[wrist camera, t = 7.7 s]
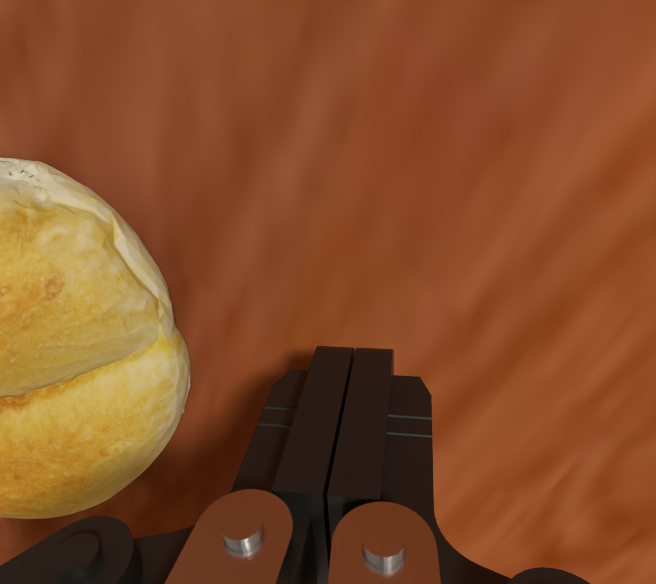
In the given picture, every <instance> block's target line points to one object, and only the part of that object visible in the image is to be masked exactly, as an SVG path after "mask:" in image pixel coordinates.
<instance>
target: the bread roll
mask: <svg viewBox="0 0 656 584" xmlns="http://www.w3.org/2000/svg"><path fill="white" fill-rule="evenodd" d="M190 378H191V376H190V359H189V354H188V349H187V346H186V343H185V341H184V339H183V337H182V335H181V333H180V332H179V331H178V330H177V328H176V326H175V323H174V317H173V311H172V302H171V300H170V296H169V291H168V287H167V284H166V282H165V280H164V278H163V276H162V274H161V272H160V270H159V268H158V266H157V265H156V263H155V262H154V260H153V259H152V257H151V256H150V254H149V253H148V251H147V250H146V248H145V246H144V245H143V243H142V242H141V240H140V238H139V237H138V235H137V234H136V233H135V232H134V230H133V229H132V228H131V227H130V226H129V225H128V224H127V223H126V222H125V220H124V219H123V218H122V217H121V216H120V215H119V214H118V213H117V211H116V210H114V209H113V208H112V207H111V206H110V205H109V204H108V203H106V202H105V201H104V200H103V199H102V198H101V197H99V196H98V195H97V194H96V193H95V192H93V191H92V190H91V189H90V188H88V187H86V186H84V185H82V184H80V183H78V182H77V181H75V180H73V179H72V178H70V177H68V176H67V175H65V174H64V173H62V172H60V171H58V170H56V169H54V168H52V167H50V166H49V165H47V164H44V163H42V162H38V161H30V160H21V159H10V158H0V517H6V518H20V519H42V518H53V517H59V516H65V515H70V514H73V513H76V512H79V511H82V510H85V509H88V508H91V507H93V506H95V505H97V504H100V503H102V502H104V501H106V500H108V499H109V498H111V497H112V496H113V495H115V494H116V493H118V492H119V491H120V490H122V489H123V488H124V487H126V486H127V485H128V484H130V483H131V482H132V481H133V480H135V479H136V478H137V477H138V476H139V475H140V474H141V473H142V472H144V471H145V470H146V469H147V468H148V467H149V466H150V465H151V464H152V462H153V461H154V460H155V459H156V458H157V457H158V455H159V454H160V453H161V451H162V450H163V449H164V447H165V446H166V445H167V443H168V442H169V440H170V439H171V437H172V435H173V434H174V432H175V430H176V428H177V426H178V423H179V421H180V418H181V415H182V413H184V411H185V410H184V408H185V403H186V400H187V397H188V392H189V389H190Z"/></svg>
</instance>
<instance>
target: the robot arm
mask: <svg viewBox="0 0 656 584" xmlns="http://www.w3.org/2000/svg"><path fill="white" fill-rule="evenodd" d="M393 372H394V352H393V349H373V348H356V351H355V349H354V348H349V347H327V346H317V348H316V350H315V353H314V357H313V360H312V363H311V366H310V369H309V371H301V370H289V371H288V372H287V373H286V374H285V375H284V376H283V377H282V378H281V379H280V380H279V381H278V382H277V383H276V384H275V385H274V386H273V387H272V390H271V392H270V395H269V397H268V400H267V402H266V405H265V409H264V410H263V412H262V415H261V418H260V420H259V426H257V428H256V430H255V433H254V435H253V438H252V440H251V443H250V445H249V448H248V450H247V453H246V455H245V458H244V460H243V463H242V465H241V468H240V470H239V473H238V475H237V478H236V480H235V483H234V485H233V488H232V490H231V492H230V494H227V495H225V496H223V497H221V498H220V499H218V500H217V501H215V502H214V503H212V504H211V505H210V506H209V507H208V508H207V509H206V510H205V511H204V512H203V514H202V515H201V516H200V518H199V520H198V521H197V523H196V525H194V526H191V527H189V528H186V529H183V530H179V531H175V532H170V533H165V534H160V535H155V536H150V537H145V538H140V539H135V540H134V538H133V536H132V533H131V531H130V529H129V528H128V527H127V526H126V525H125V524H124V523H123V522H121V521H120V520H118V519H115V518H111V517H91V518H86V519H83V520H79V521H77V522H75V523H72V524H70V525H68V526H66V527H64V528H62V529H61V530H59V531H57V532H56V533H54V534H52V535H51V536H49V537H48V538H46V539H44V540H43V541H41V542H39V543H38V544H36V545H34V546H33V547H31V548H29V549H28V550H26V551H24V552H23V553H21V554H19V555H18V556H16V557H14V558H13V559H11V560H9V561H8V562H6V563H4V564H3V565H1V566H0V584H590V583H588V582H587V581H585V580H584V579H582V578H580V577H578V576H576V575H574V574H571V573H569V572H566V571H563V570H559V569H554V568H543V567H541V568H532V569H529V570H525V571H523V572H521V573H519V574H517V575H515V576H514V577H513V578H512V579H510V578H508V577H506V576H503V575H501V574H499V573H496V572H494V571H492V570H489V569H487V568H485V567H482V566H480V565H478V564H476V563H474V562H472V561H470V560H469V559H467V558H466V557H464V556H463V555H461V554H460V553H459V552H458V551H456V550H455V549H454V548H453V547H452V546H451V545H450V544H449V543H448V541H447V540H446V539H445V538H444V536H443V535H442V533H441V531H440V529H439V527H438V525H437V522H436V519H435V515H434V497H433V451H432V405H431V394H430V393H429V391H428V389H427V388H426V386H425V385H424V383H423V381H422V380H421V378H420V377H413V376H395V375H393Z"/></svg>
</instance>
